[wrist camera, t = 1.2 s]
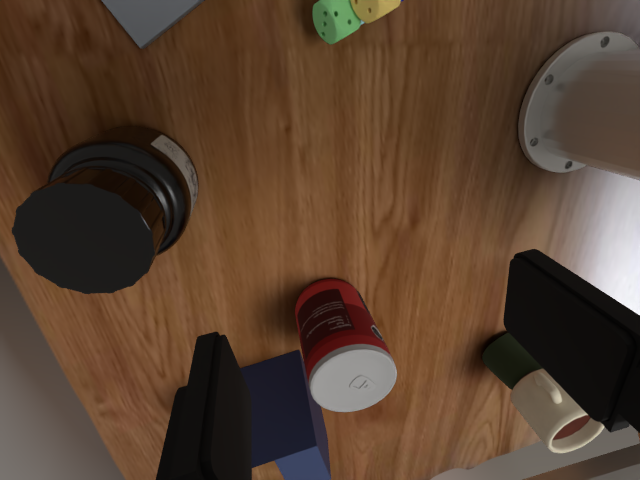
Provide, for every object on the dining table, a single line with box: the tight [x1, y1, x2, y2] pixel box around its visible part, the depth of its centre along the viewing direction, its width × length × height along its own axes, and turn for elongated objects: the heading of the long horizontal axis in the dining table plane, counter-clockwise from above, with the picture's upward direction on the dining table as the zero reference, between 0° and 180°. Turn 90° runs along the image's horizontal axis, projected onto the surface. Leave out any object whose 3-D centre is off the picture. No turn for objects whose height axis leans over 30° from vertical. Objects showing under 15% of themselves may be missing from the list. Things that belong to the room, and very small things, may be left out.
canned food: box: [295, 279, 397, 412], centre depth 34 cm, size 8×8×11 cm
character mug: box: [482, 333, 604, 453], centre depth 42 cm, size 11×7×13 cm, turn 30°
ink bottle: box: [12, 126, 198, 294], centre depth 24 cm, size 10×9×12 cm
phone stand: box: [240, 350, 331, 480], centre depth 38 cm, size 12×12×12 cm
